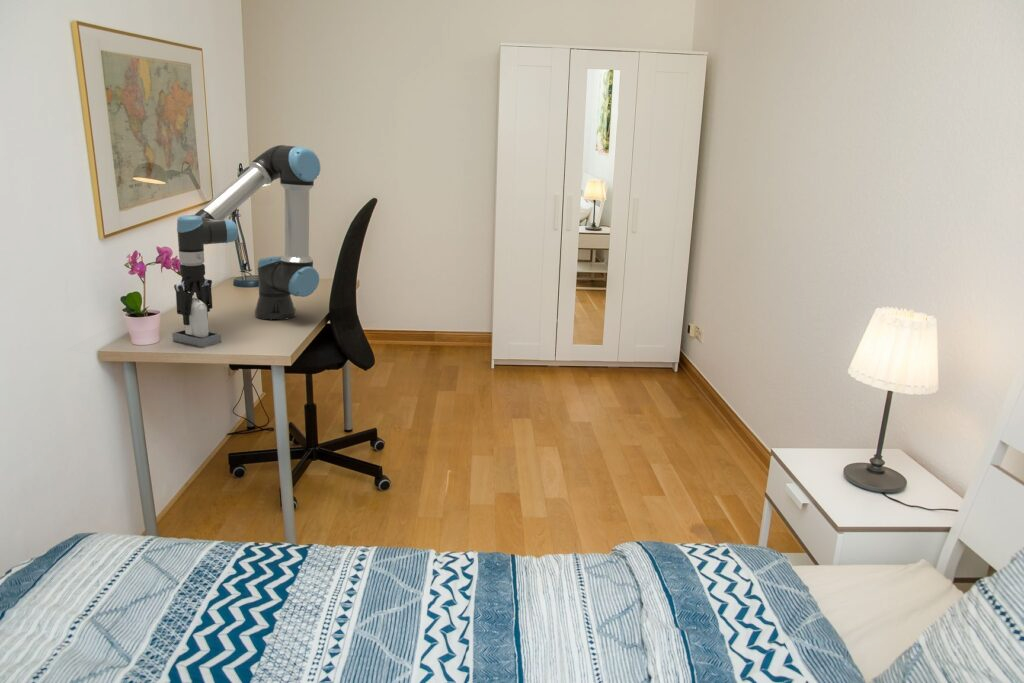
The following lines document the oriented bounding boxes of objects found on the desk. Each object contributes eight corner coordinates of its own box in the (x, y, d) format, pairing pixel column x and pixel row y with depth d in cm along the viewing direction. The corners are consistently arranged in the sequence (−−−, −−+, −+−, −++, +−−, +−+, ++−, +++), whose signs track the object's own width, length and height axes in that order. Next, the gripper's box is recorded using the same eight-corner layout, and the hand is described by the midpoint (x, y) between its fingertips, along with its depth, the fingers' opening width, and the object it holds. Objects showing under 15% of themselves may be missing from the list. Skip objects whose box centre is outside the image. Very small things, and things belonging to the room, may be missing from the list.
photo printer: (183, 332, 248) (180, 296, 244) (195, 330, 251) (193, 295, 247) (198, 339, 241) (195, 302, 238) (210, 336, 244) (208, 300, 241)
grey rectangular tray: (192, 336, 253) (192, 327, 252) (221, 342, 248) (220, 333, 247) (172, 341, 246) (172, 332, 245) (201, 348, 241) (201, 339, 240)
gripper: (177, 268, 230) (182, 339, 236) (222, 261, 246) (225, 328, 252) (160, 265, 233) (165, 336, 239) (205, 258, 249) (209, 325, 255)
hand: (196, 332), depth 246 cm, fingers closed on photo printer, 5 cm apart
